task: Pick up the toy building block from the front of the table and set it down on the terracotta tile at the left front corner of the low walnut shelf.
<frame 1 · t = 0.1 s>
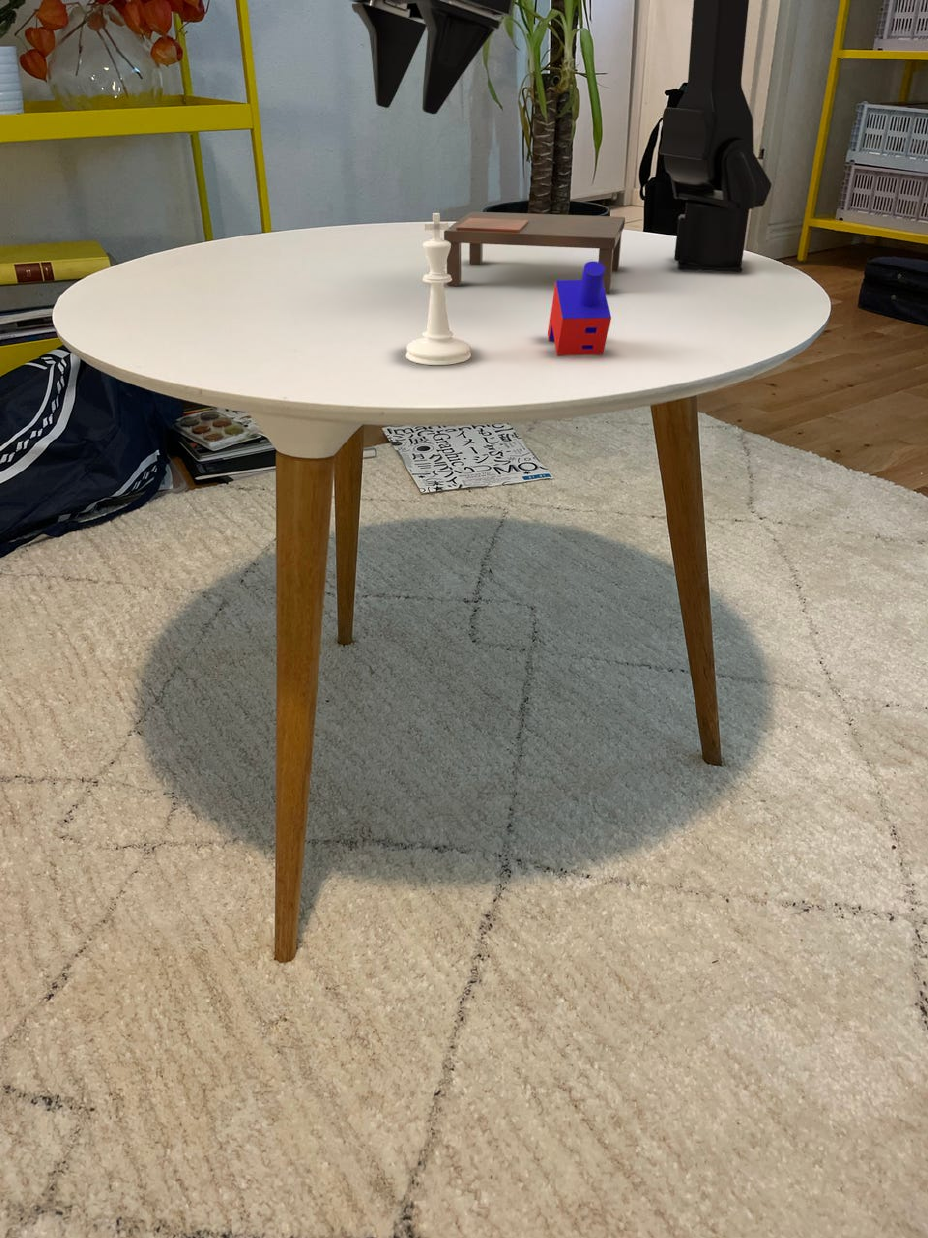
hand: (404, 109, 79), 15 cm above the table, tool pointing down, fingers open, 9 cm apart
toy building block: (576, 351, 74), on the table
chess piece: (438, 358, 72), on the table
shelf: (535, 276, 96), on the table
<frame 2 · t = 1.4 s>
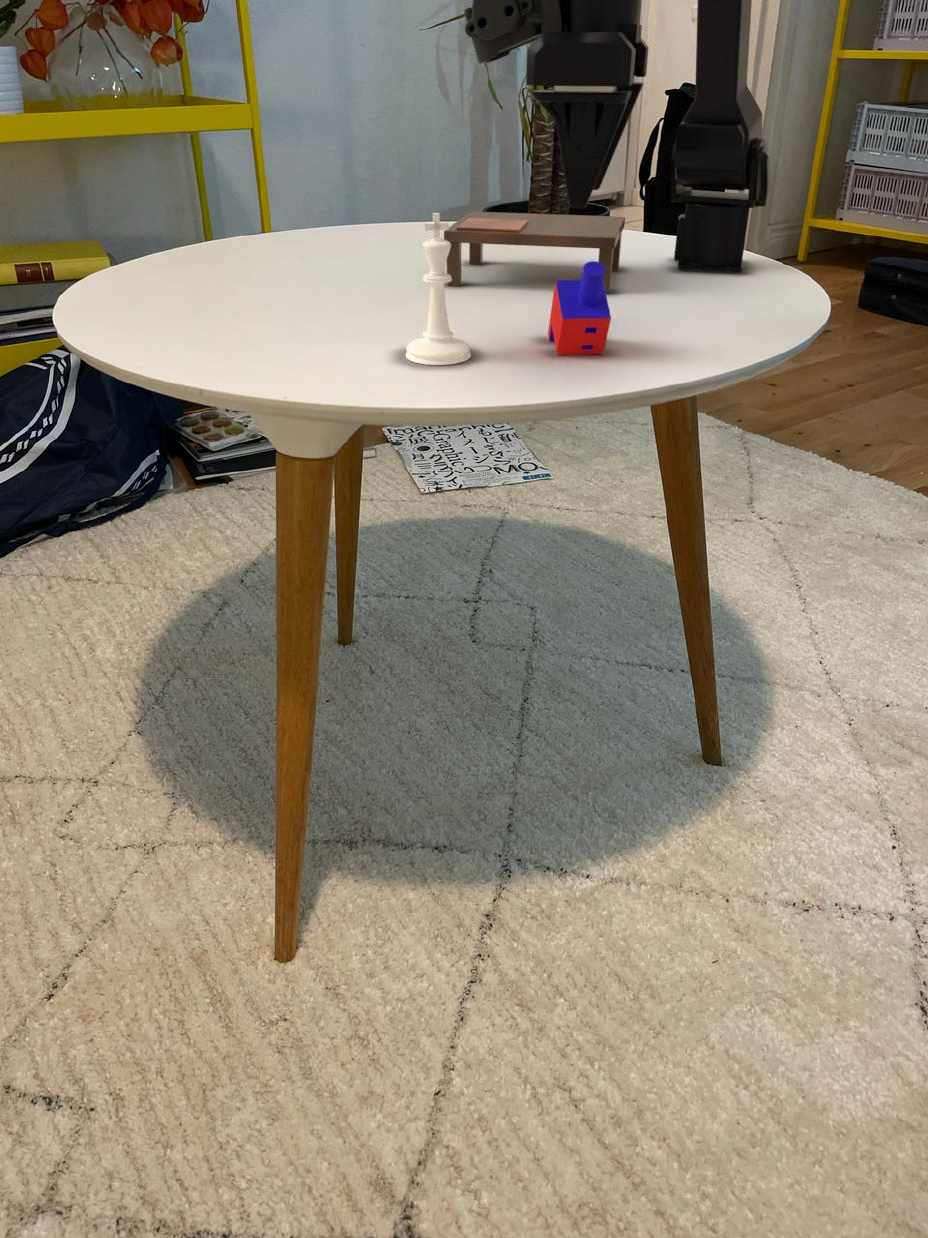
hand: (585, 197, 68), 11 cm above the table, tool pointing down, fingers open, 9 cm apart
nothing on the table moved.
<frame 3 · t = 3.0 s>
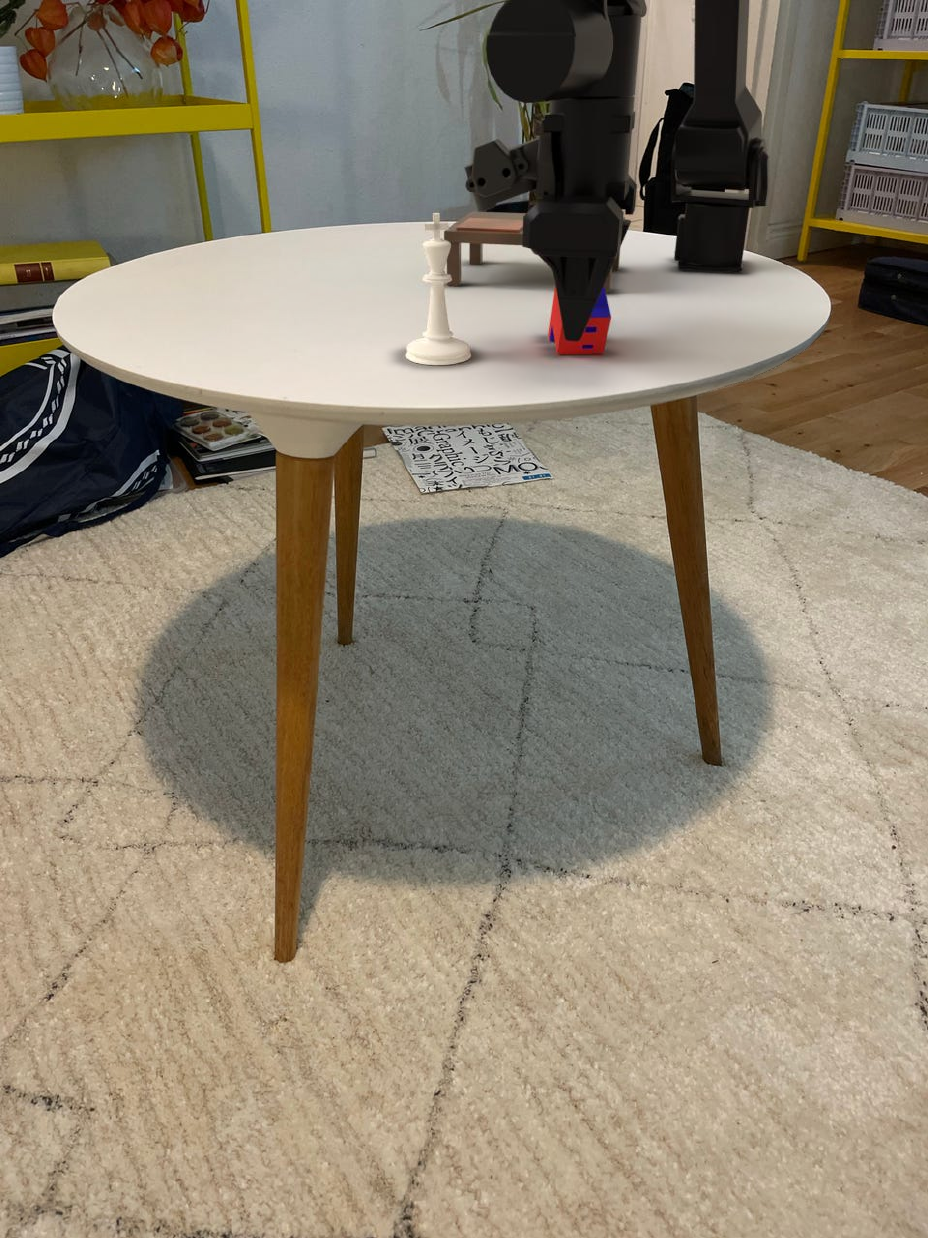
hand: (577, 329, 73), 2 cm above the table, tool pointing down, fingers closed on toy building block, 6 cm apart
toy building block: (576, 351, 74), on the table, touching gripper
everything else where it was.
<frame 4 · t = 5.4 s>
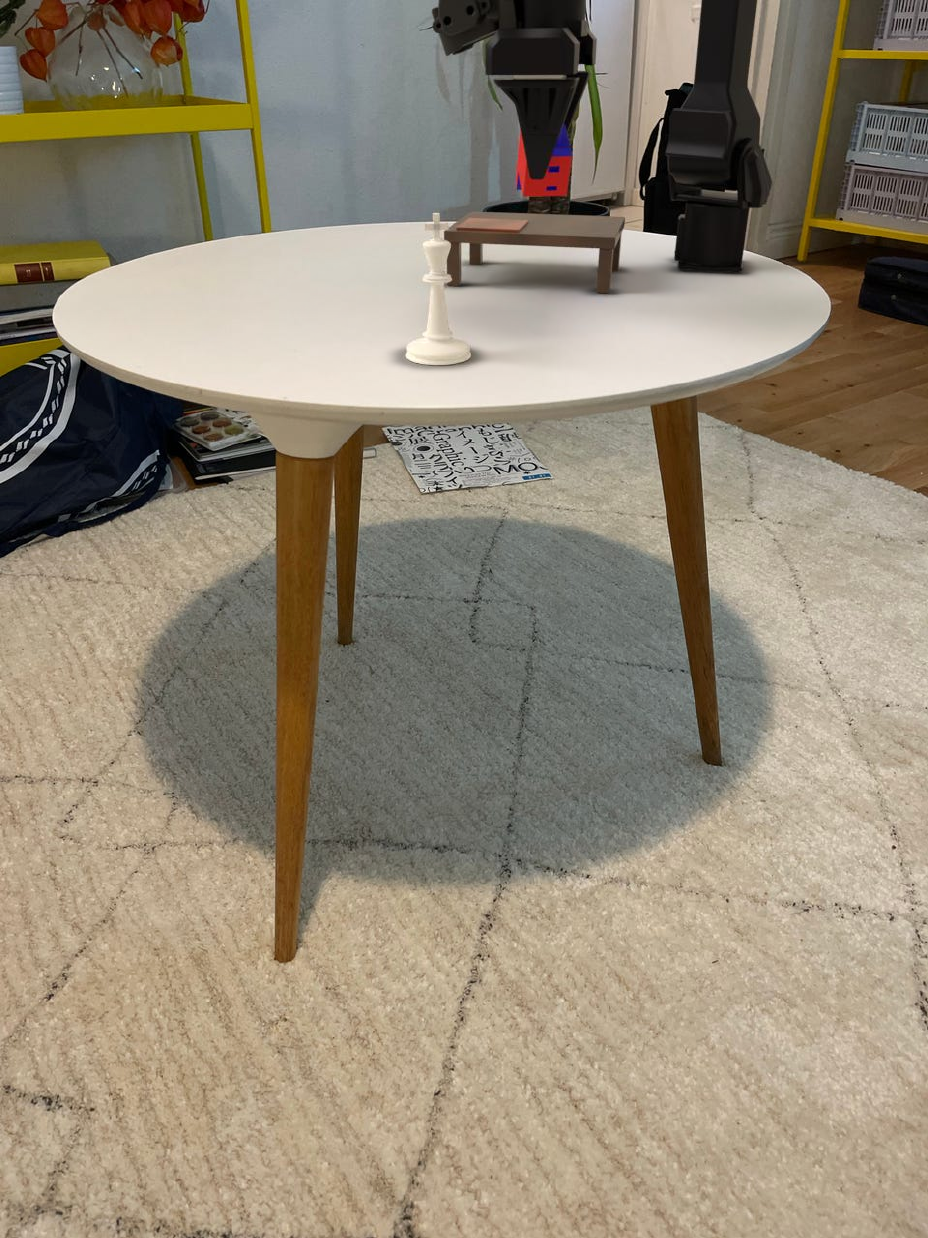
hand: (542, 173, 78), 11 cm above the table, tool pointing down, fingers closed on toy building block, 6 cm apart
toy building block: (542, 196, 79), point 9 cm above the table, touching gripper
everything else where it was.
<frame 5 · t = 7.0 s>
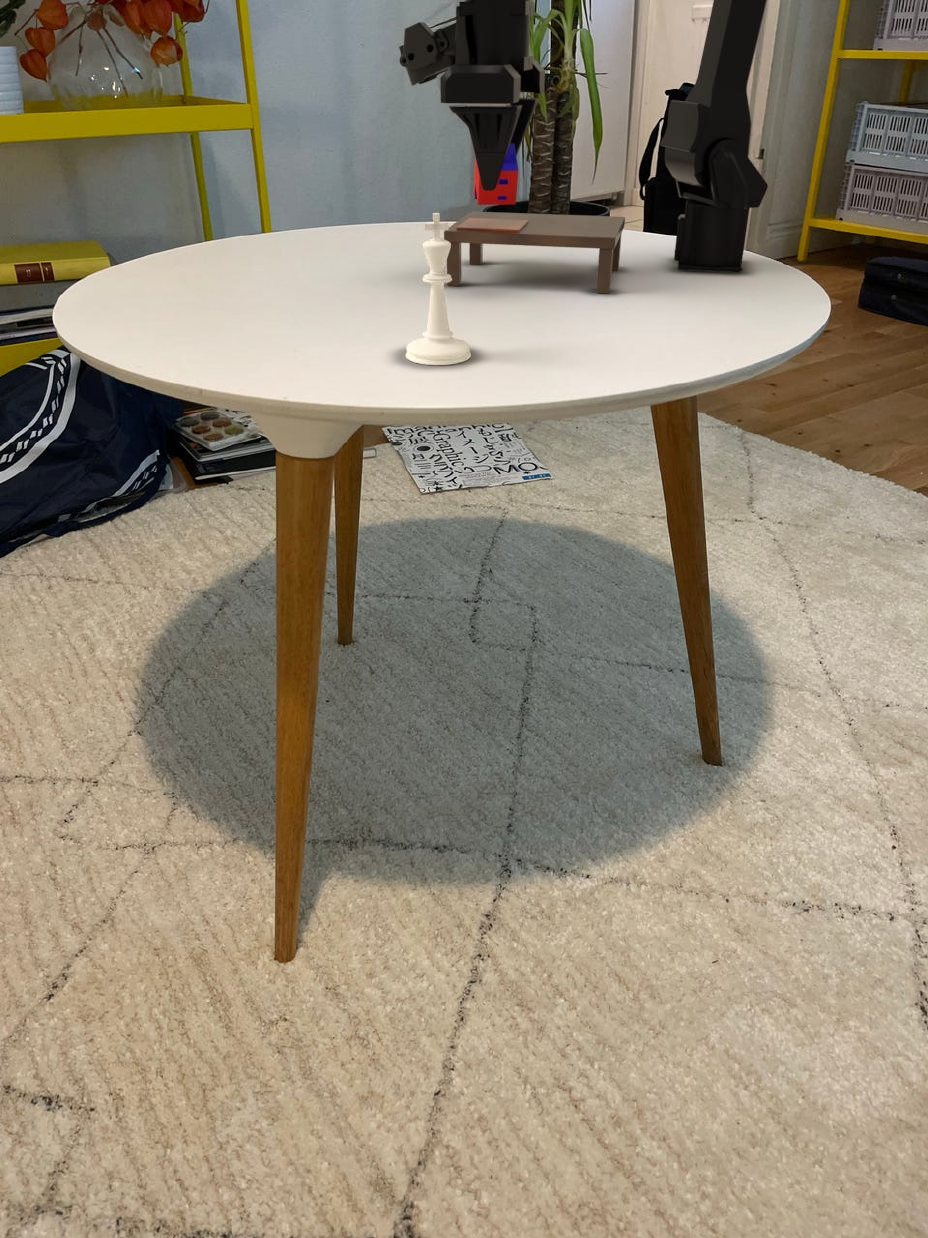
hand: (495, 185, 91), 9 cm above the table, tool pointing down, fingers closed on toy building block, 6 cm apart
toy building block: (495, 204, 92), point 7 cm above the table, touching gripper
everything else where it was.
when the fingers open (7 cm above the table, at t = 8.1 s): toy building block stays where it is, resting on shelf.
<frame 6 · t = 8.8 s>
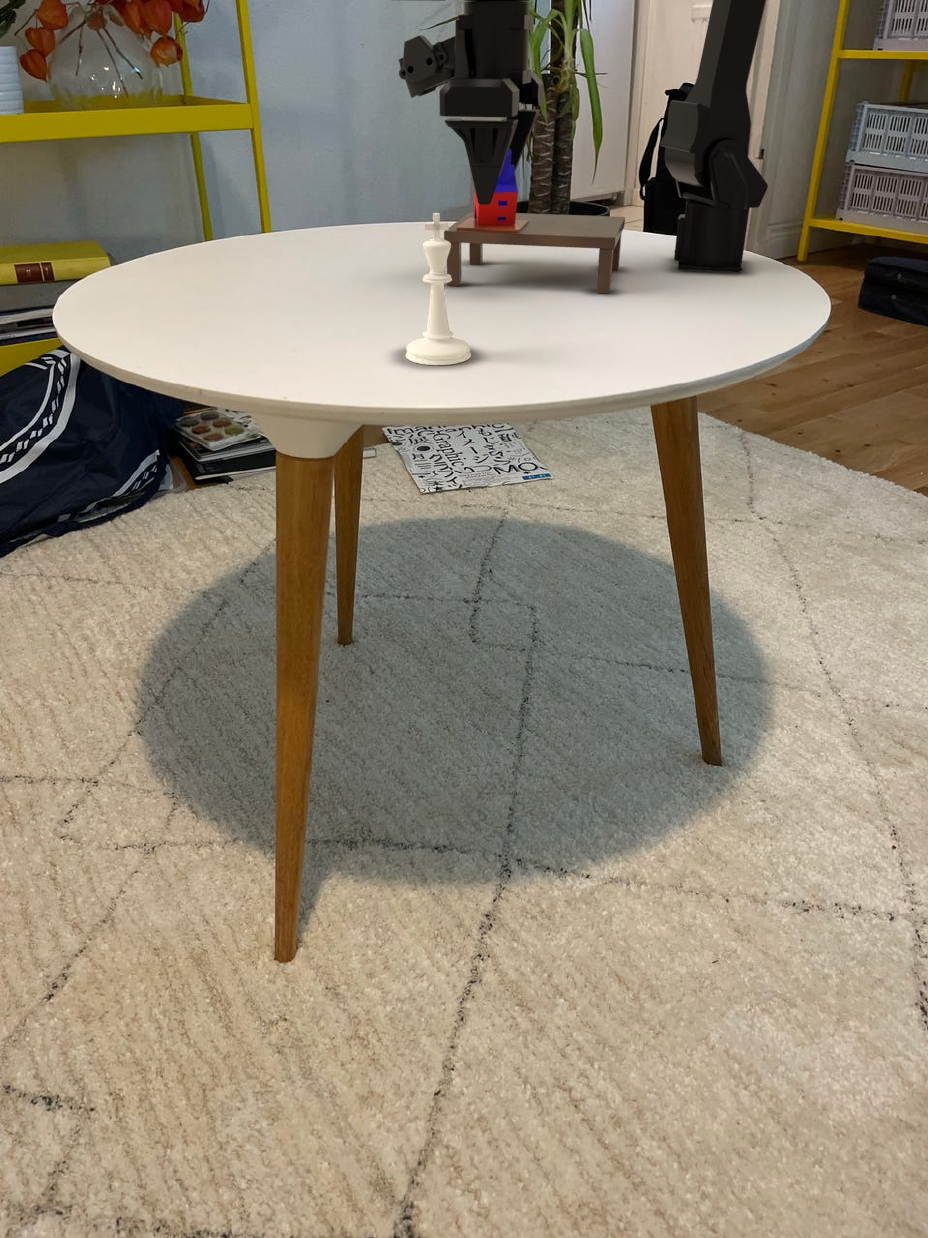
hand: (493, 196, 91), 8 cm above the table, tool pointing down, fingers open, 9 cm apart
toy building block: (494, 224, 93), point 5 cm above the table, touching shelf
everything else where it was.
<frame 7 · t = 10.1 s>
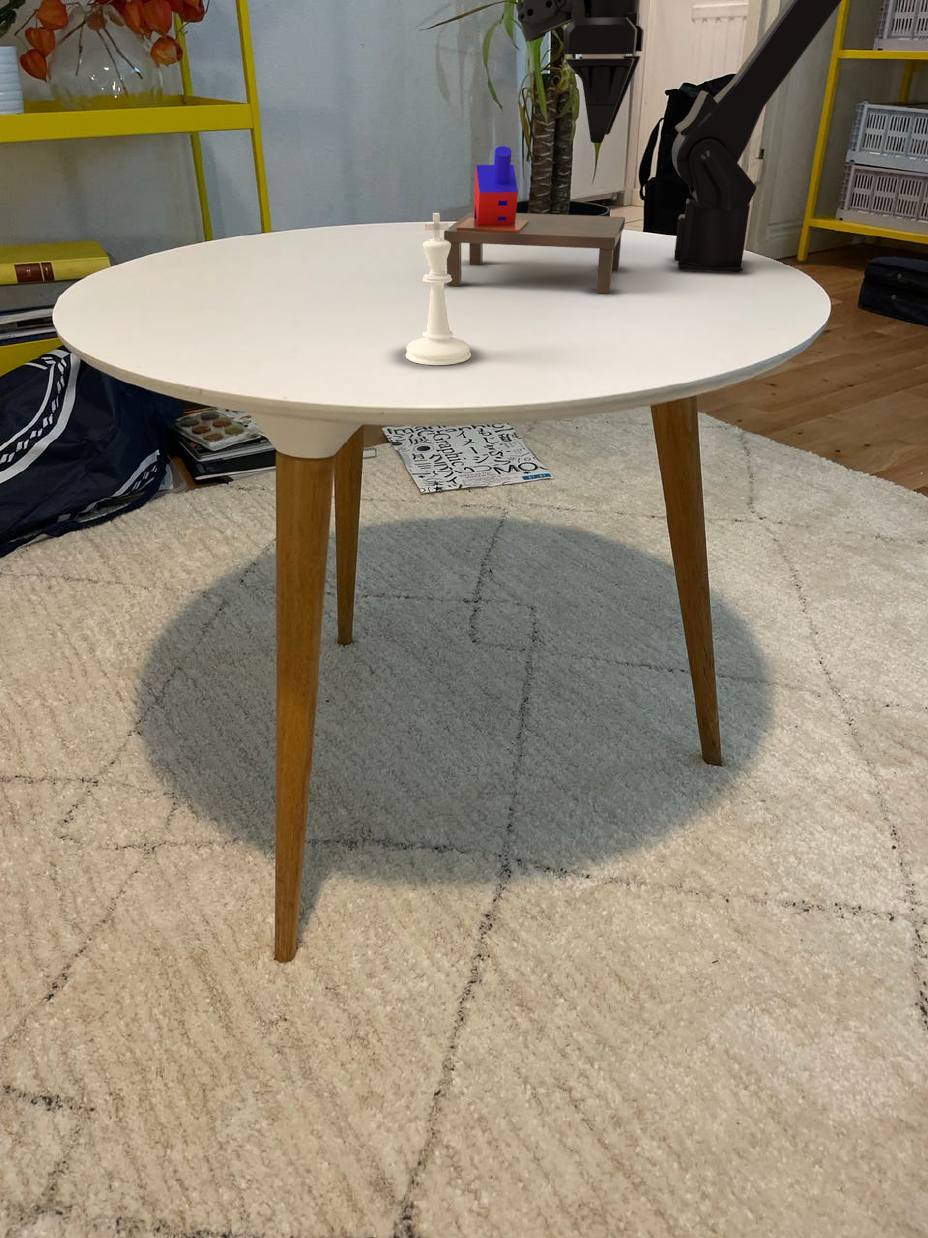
hand: (600, 138, 95), 12 cm above the table, tool pointing down, fingers open, 9 cm apart
nothing on the table moved.
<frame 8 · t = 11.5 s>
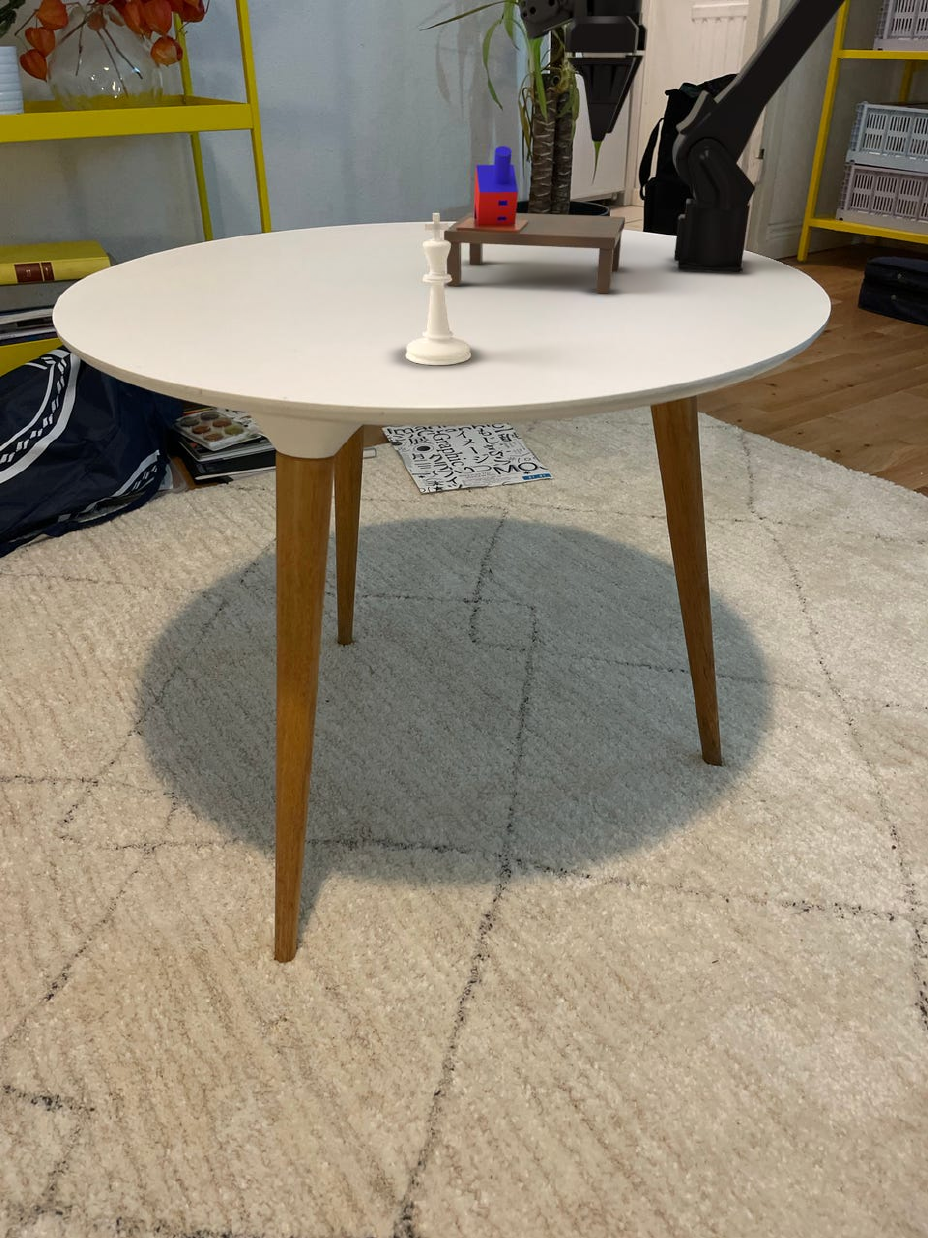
hand: (602, 136, 96), 12 cm above the table, tool pointing down, fingers open, 9 cm apart
nothing on the table moved.
at the end: toy building block 1.1 cm from the target spot on the shelf, point 5.0 cm above the shelf's base; toy building block tilted 0° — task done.
